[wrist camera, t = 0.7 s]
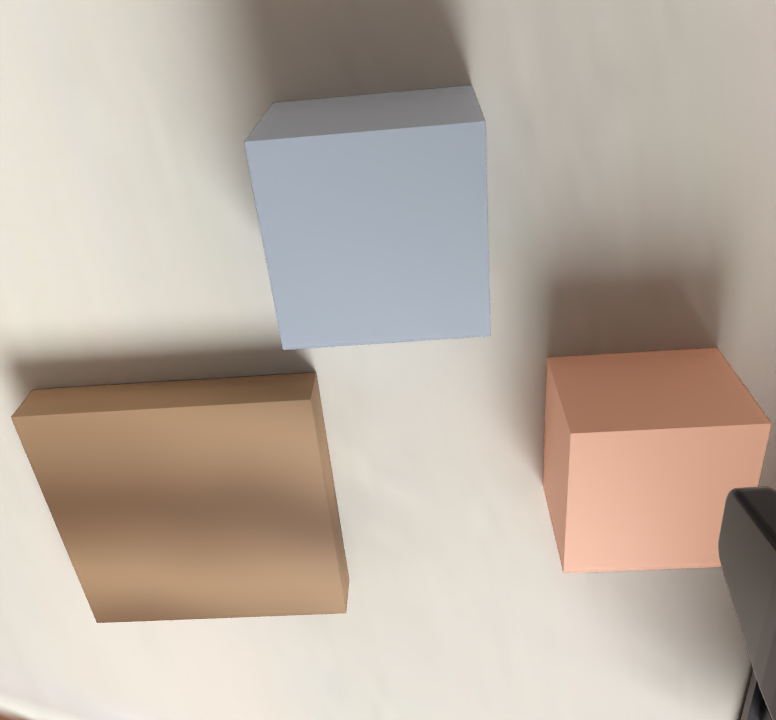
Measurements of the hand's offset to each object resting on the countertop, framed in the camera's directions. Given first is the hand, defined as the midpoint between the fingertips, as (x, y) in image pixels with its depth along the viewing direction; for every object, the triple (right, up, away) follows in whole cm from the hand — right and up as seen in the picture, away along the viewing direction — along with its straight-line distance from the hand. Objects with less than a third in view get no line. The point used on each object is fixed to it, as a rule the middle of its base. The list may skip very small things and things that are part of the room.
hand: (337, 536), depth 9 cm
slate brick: (0, +7, +11) cm, 13 cm away
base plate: (-6, -2, +17) cm, 18 cm away
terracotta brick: (+8, 0, +15) cm, 17 cm away
